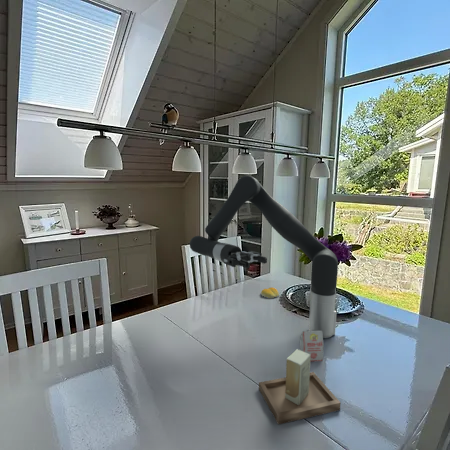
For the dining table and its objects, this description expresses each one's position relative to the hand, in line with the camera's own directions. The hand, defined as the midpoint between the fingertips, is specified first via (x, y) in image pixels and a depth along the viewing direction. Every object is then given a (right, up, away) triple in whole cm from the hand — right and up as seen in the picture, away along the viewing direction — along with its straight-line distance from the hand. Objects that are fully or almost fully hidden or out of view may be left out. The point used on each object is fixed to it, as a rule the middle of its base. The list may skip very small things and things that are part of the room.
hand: (257, 262), depth 102 cm
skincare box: (+9, -35, -19) cm, 41 cm away
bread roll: (+12, -24, +54) cm, 60 cm away
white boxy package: (+18, -33, 0) cm, 38 cm away
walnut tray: (+9, -36, -19) cm, 41 cm away
